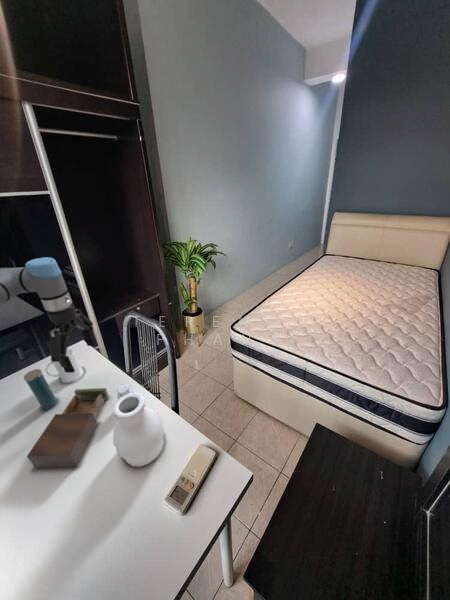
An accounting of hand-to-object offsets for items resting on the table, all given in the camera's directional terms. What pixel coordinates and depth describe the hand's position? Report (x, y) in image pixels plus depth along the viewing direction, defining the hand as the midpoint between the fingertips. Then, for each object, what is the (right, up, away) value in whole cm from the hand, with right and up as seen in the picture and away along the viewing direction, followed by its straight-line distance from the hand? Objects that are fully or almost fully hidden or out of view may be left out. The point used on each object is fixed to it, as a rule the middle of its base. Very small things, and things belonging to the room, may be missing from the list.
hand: (81, 357), depth 88 cm
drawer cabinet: (+1, -26, -9) cm, 28 cm away
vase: (+26, -26, -11) cm, 38 cm away
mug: (-16, -13, +18) cm, 27 cm away
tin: (-15, -19, +5) cm, 25 cm away
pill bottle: (+16, -19, +4) cm, 25 cm away
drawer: (+1, -20, +1) cm, 20 cm away
